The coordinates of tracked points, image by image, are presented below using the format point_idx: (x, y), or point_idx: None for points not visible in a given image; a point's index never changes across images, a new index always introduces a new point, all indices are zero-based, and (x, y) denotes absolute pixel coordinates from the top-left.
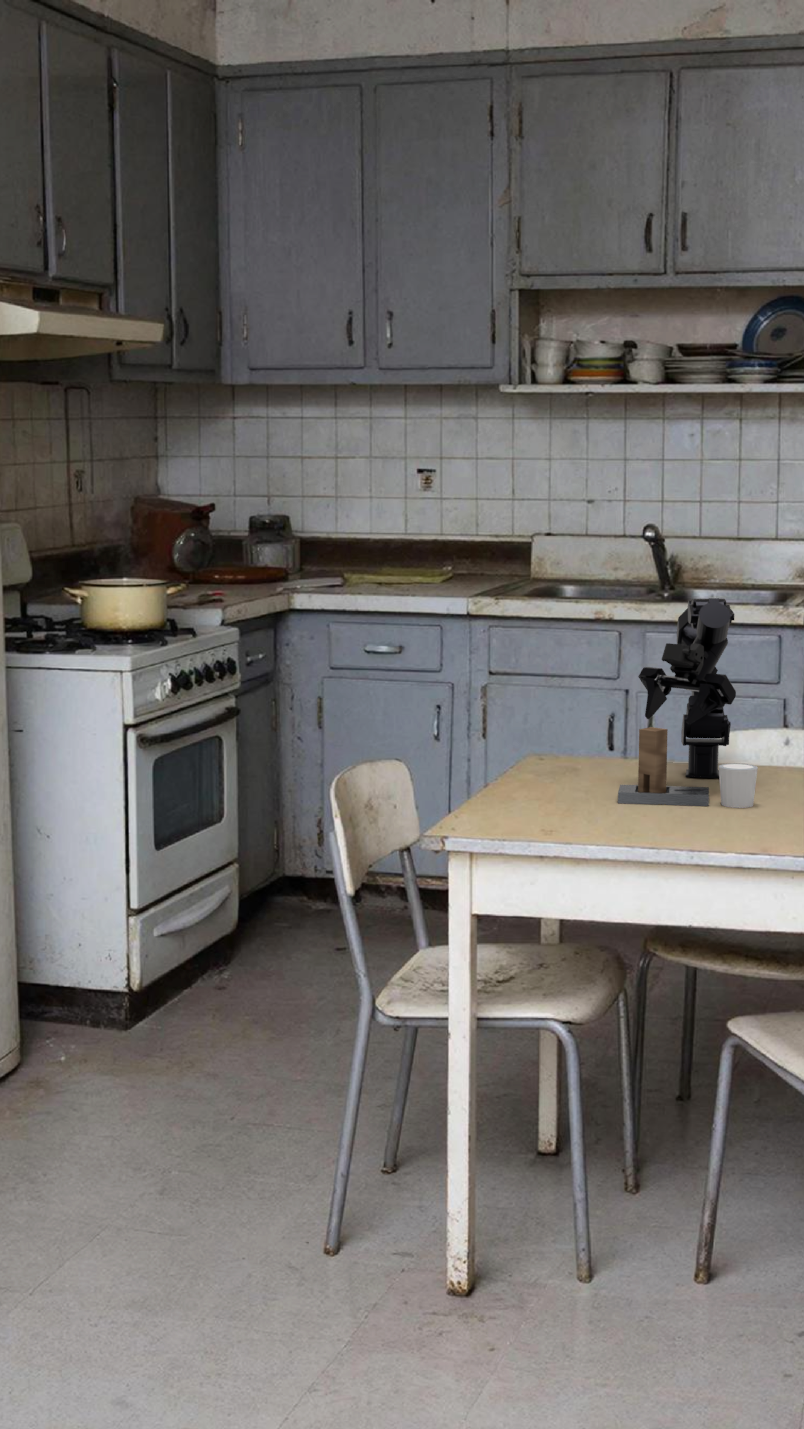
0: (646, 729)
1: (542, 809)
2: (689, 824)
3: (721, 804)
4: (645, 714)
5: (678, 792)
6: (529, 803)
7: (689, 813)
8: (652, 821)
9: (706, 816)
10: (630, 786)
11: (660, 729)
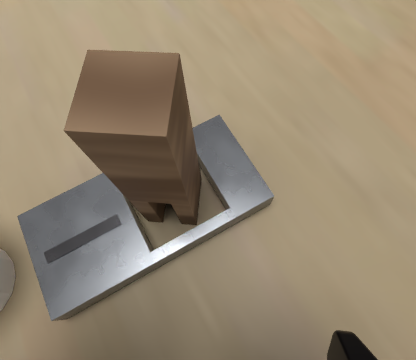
0: (148, 67)
1: (295, 10)
2: (16, 60)
3: (11, 260)
4: (353, 337)
5: (97, 197)
6: (352, 32)
7: (47, 134)
8: (83, 43)
9: (7, 130)
10: (237, 190)
11: (90, 102)
